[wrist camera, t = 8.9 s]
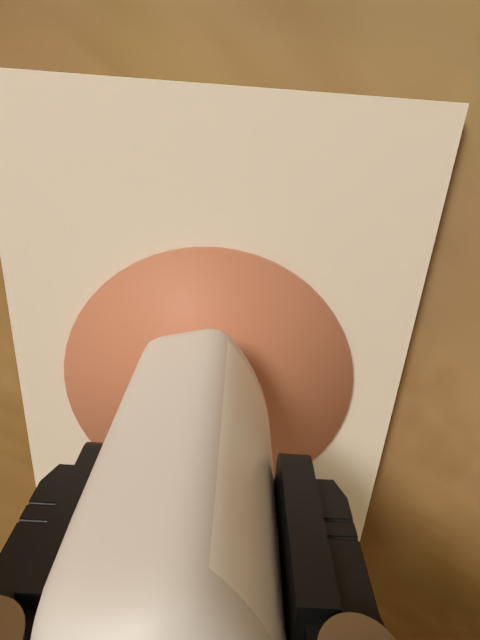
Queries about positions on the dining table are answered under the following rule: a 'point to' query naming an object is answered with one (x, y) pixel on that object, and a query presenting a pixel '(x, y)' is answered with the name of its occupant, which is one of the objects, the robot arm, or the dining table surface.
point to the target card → (219, 249)
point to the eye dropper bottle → (175, 509)
